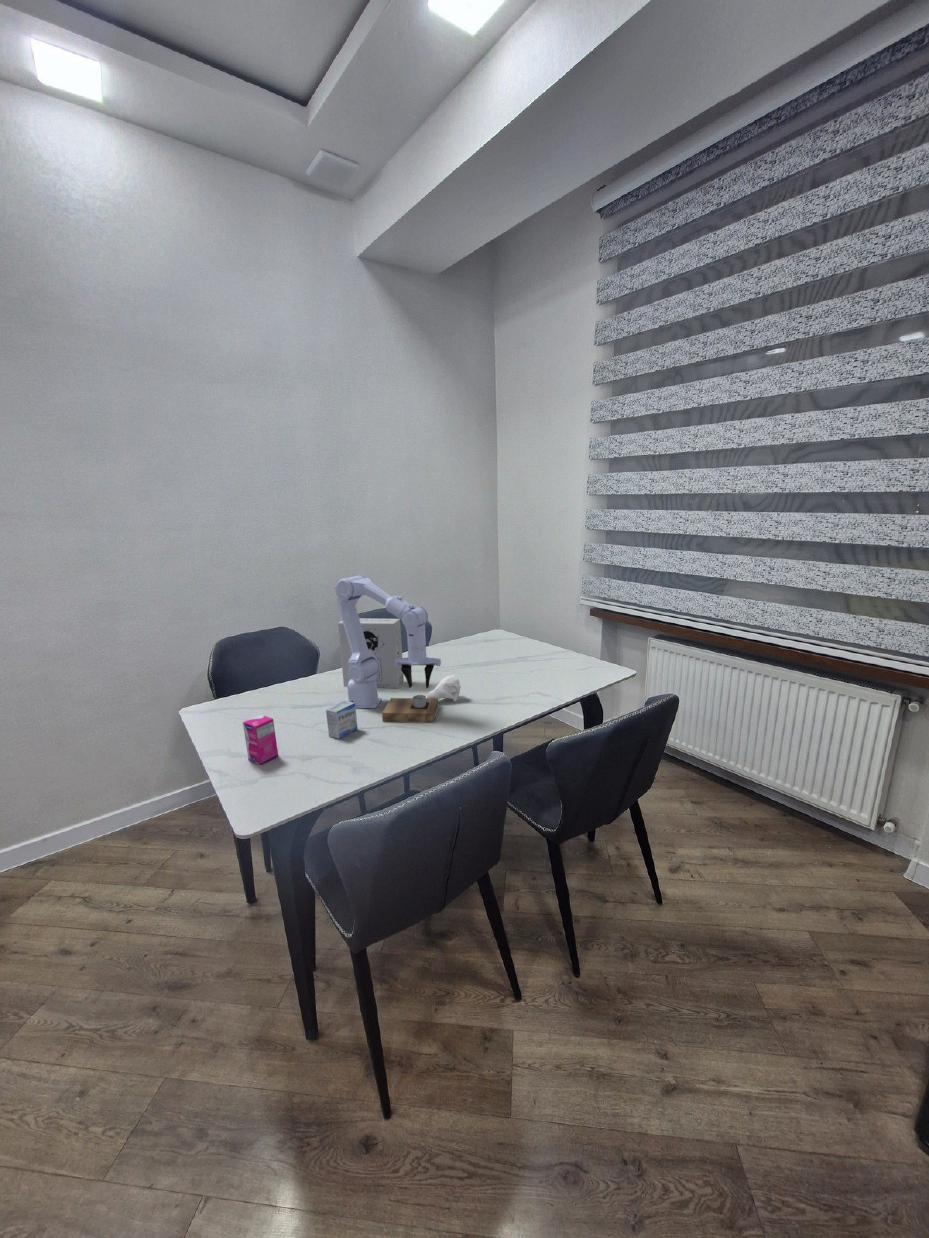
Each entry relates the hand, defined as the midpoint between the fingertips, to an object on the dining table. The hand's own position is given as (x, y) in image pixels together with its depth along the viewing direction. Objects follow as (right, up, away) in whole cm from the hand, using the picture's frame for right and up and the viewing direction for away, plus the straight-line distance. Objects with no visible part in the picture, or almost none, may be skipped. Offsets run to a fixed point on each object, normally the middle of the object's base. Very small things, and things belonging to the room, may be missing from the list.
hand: (419, 686), depth 158 cm
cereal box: (-20, -3, +31) cm, 37 cm away
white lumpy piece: (+7, -7, +12) cm, 16 cm away
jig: (-3, -9, +2) cm, 10 cm away
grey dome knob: (0, -9, +2) cm, 9 cm away
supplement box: (-40, -17, -23) cm, 49 cm away
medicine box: (-22, -13, -9) cm, 27 cm away
